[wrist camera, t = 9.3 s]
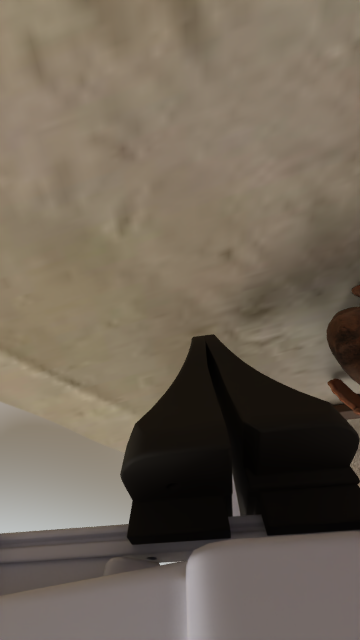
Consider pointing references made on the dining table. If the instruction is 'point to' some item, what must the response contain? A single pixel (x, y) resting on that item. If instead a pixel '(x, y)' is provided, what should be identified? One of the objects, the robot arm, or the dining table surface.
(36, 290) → the dining table surface
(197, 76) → the dining table surface
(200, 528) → the robot arm
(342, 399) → the pottery shards
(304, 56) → the dining table surface
